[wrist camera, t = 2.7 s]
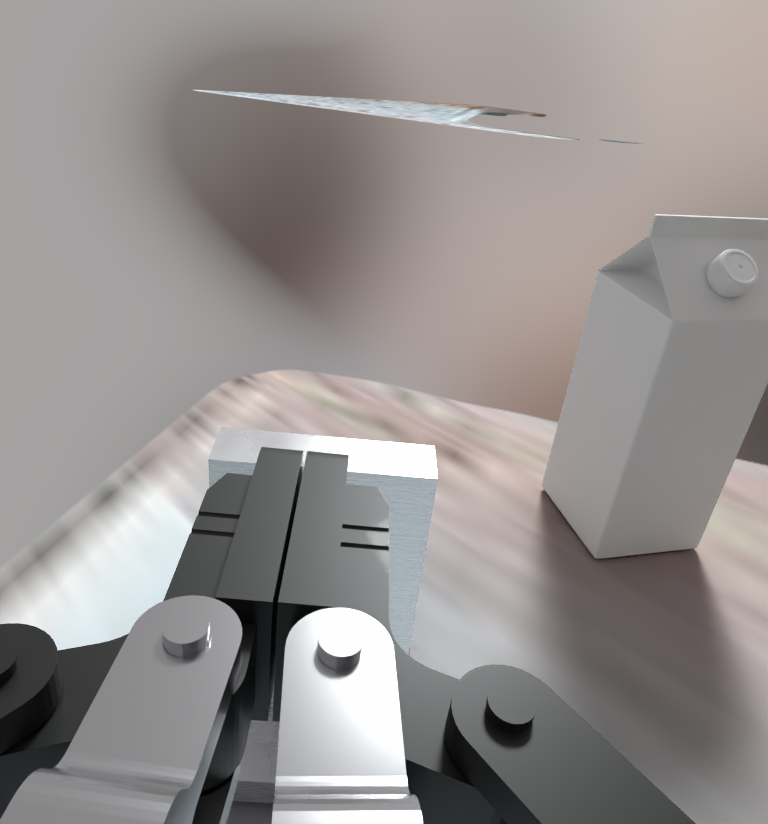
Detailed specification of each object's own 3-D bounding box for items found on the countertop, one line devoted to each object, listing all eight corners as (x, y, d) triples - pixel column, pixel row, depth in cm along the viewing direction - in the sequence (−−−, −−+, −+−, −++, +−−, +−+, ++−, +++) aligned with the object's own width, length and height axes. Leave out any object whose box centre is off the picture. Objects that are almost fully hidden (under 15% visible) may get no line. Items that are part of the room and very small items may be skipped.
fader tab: (235, 698, 27) (230, 405, 20) (387, 709, 27) (432, 424, 20) (211, 799, 23) (196, 486, 17) (387, 811, 24) (440, 506, 17)
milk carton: (540, 488, 45) (617, 196, 36) (633, 480, 47) (729, 201, 38) (593, 561, 40) (701, 236, 30) (697, 550, 41) (830, 240, 32)
